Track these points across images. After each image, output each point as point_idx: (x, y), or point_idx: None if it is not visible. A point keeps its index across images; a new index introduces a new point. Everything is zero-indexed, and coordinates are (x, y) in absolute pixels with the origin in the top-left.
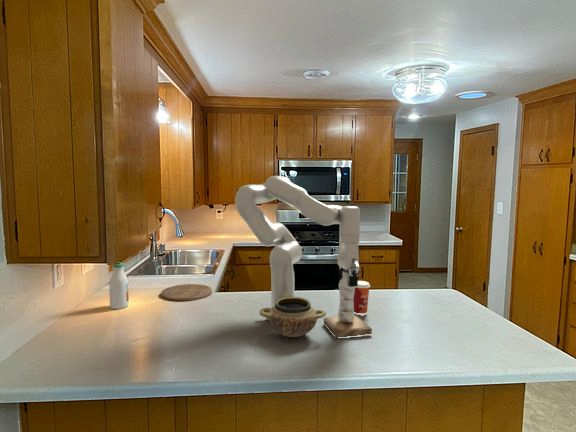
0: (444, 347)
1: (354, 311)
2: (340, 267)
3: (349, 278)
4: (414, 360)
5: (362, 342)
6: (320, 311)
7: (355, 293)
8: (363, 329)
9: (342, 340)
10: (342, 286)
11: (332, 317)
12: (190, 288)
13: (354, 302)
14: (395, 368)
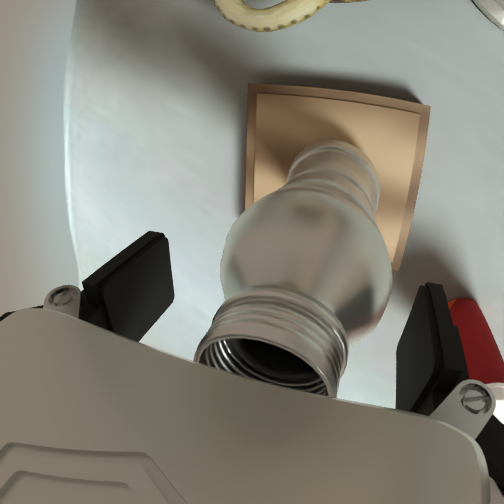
0: (161, 344)
1: (467, 304)
2: (449, 410)
3: (103, 267)
4: (107, 242)
5: (214, 170)
6: (277, 4)
7: (477, 361)
8: (245, 208)
9: (245, 105)
10: (258, 202)
11: (415, 147)
12: None
13: (475, 328)
14: (79, 177)
